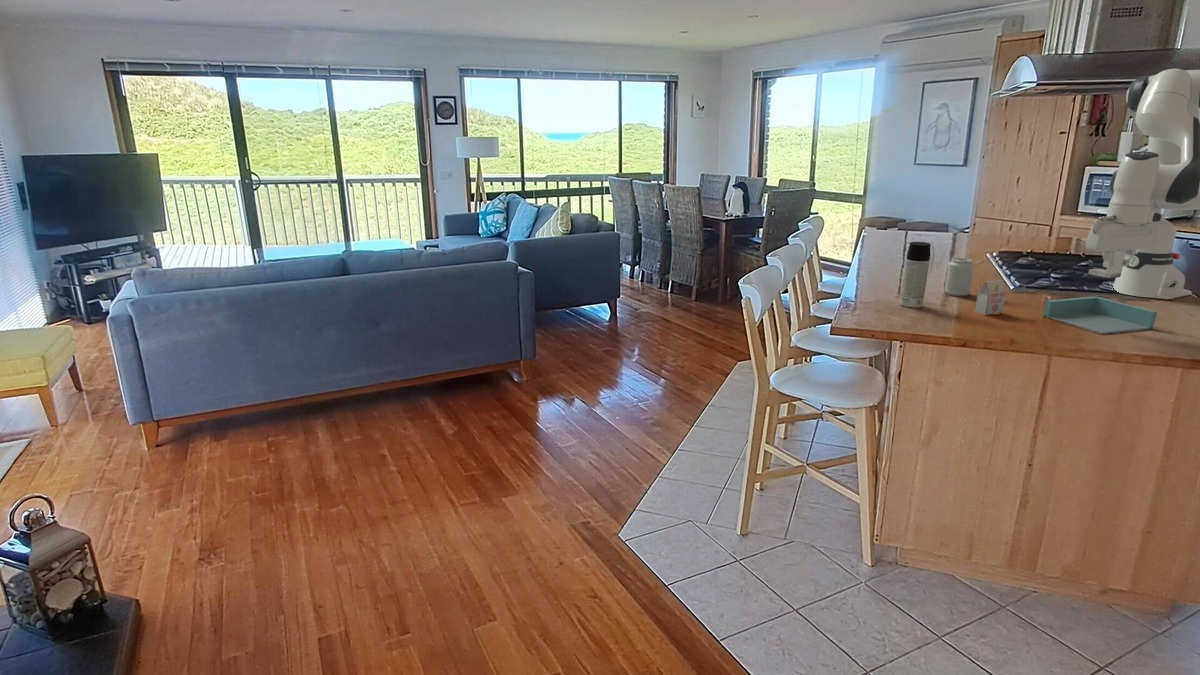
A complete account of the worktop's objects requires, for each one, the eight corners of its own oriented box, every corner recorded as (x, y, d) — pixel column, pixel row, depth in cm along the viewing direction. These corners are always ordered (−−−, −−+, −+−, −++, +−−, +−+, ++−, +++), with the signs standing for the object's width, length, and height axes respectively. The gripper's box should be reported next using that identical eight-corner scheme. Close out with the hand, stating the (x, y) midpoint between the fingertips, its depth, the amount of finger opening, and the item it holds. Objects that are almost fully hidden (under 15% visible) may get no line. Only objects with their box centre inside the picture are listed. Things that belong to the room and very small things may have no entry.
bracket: (1120, 277, 179) (1126, 252, 176) (1108, 278, 178) (1114, 252, 176) (1099, 272, 184) (1105, 248, 182) (1088, 273, 183) (1093, 249, 181)
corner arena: (1091, 312, 197) (1095, 296, 195) (1152, 329, 180) (1157, 311, 179) (1043, 317, 193) (1046, 300, 191) (1100, 334, 176) (1105, 317, 175)
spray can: (922, 304, 209) (931, 242, 202) (923, 309, 203) (932, 245, 197) (900, 302, 211) (908, 240, 205) (899, 307, 205) (908, 244, 199)
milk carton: (974, 312, 198) (979, 280, 195) (991, 310, 200) (997, 278, 197) (984, 316, 195) (990, 283, 192) (1001, 313, 197) (1007, 281, 194)
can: (972, 297, 215) (978, 261, 212) (947, 296, 217) (953, 261, 213) (965, 292, 222) (970, 257, 219) (941, 291, 224) (946, 256, 220)
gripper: (1107, 218, 168) (1095, 270, 172) (1169, 215, 173) (1156, 266, 177) (1085, 215, 174) (1074, 266, 178) (1145, 212, 179) (1133, 262, 183)
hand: (1115, 266), depth 178 cm, fingers closed on bracket, 4 cm apart
